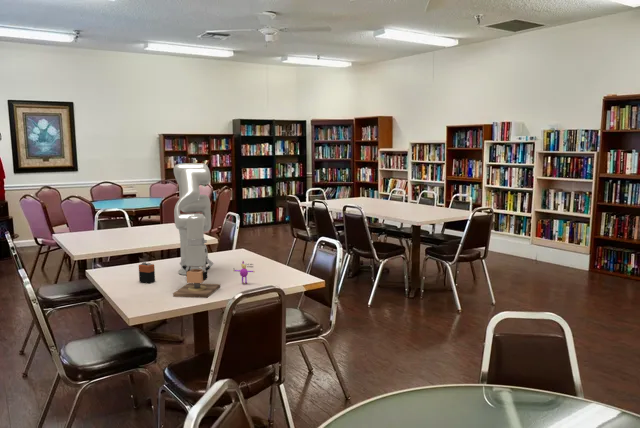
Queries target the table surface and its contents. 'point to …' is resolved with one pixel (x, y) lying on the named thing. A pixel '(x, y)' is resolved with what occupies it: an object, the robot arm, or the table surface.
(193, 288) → the post base
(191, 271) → the tan square box
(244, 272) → the wizard figurine
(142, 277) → the battery
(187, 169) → the robot arm
